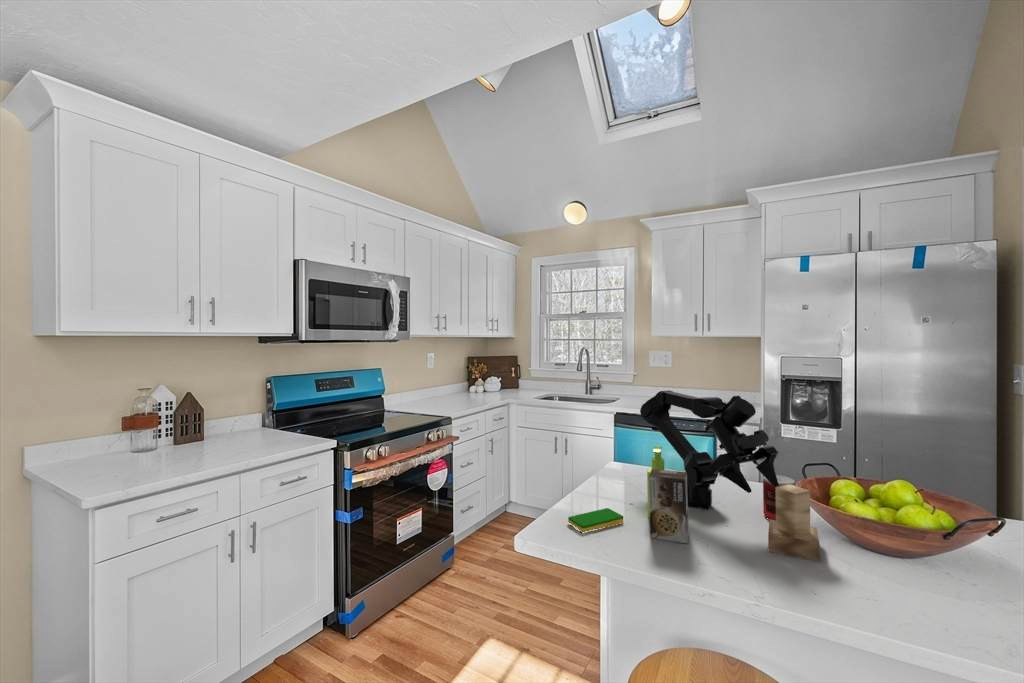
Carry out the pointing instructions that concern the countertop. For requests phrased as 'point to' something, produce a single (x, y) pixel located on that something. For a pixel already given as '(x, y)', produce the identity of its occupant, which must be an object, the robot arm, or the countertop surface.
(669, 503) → the printed cardboard box
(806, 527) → the oak block
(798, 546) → the light wood flat block
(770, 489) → the canned food
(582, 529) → the dish sponge
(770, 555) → the countertop surface
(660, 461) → the soap dispenser
